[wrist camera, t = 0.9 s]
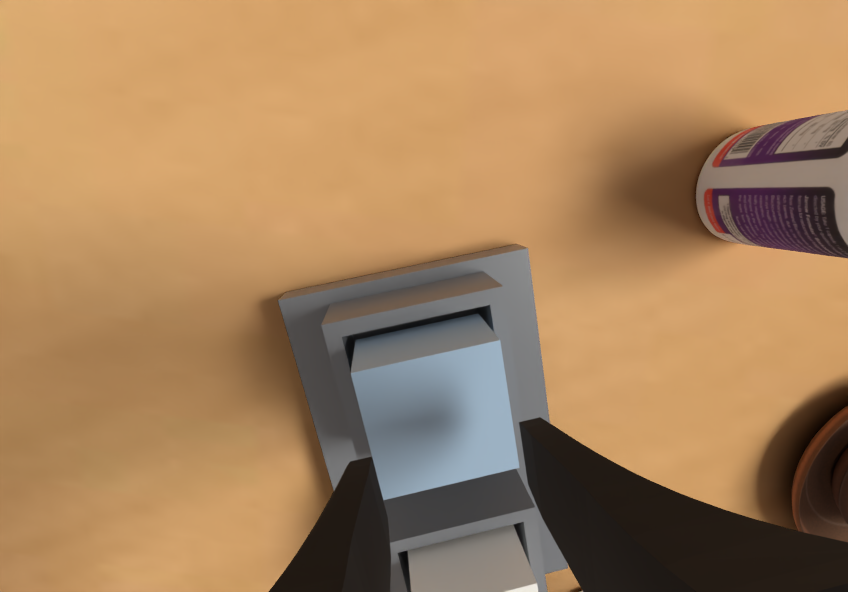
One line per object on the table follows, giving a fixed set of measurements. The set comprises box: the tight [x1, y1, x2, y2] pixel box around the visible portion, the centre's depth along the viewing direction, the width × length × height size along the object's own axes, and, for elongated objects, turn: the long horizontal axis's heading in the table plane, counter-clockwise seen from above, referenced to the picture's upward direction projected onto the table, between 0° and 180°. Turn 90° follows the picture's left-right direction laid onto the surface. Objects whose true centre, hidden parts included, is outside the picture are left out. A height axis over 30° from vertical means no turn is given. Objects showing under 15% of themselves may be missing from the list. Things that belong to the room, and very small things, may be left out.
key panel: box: [278, 244, 568, 592], centre depth 20 cm, size 18×11×4 cm, turn 11°
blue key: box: [351, 314, 519, 500], centre depth 15 cm, size 5×5×3 cm
